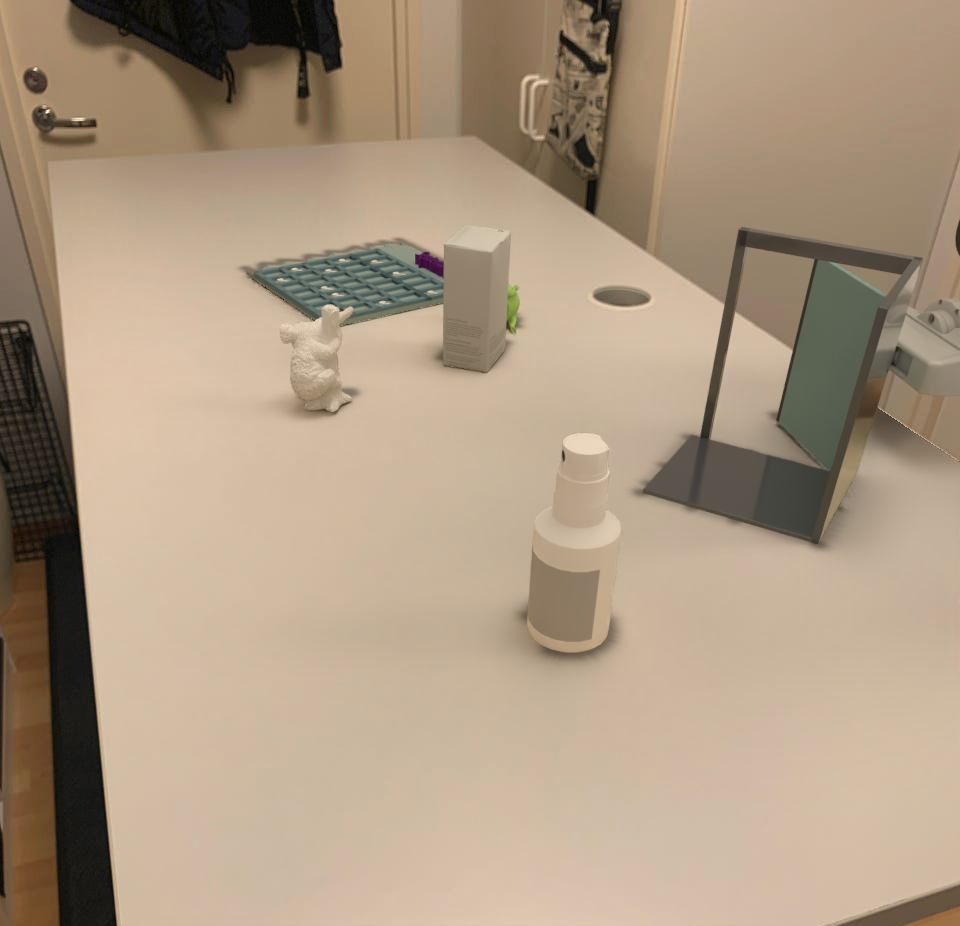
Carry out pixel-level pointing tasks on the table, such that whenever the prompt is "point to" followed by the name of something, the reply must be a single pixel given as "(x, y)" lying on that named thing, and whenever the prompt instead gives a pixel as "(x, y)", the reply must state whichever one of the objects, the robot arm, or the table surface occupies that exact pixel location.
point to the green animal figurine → (512, 306)
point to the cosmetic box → (475, 297)
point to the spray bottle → (575, 552)
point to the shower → (768, 479)
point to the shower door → (827, 358)
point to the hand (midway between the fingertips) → (838, 346)
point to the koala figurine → (317, 359)
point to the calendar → (359, 282)
